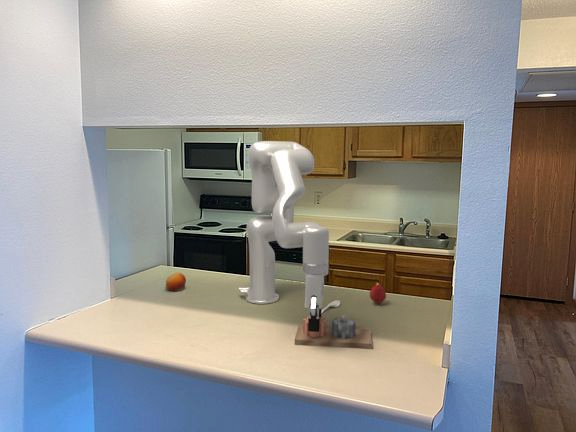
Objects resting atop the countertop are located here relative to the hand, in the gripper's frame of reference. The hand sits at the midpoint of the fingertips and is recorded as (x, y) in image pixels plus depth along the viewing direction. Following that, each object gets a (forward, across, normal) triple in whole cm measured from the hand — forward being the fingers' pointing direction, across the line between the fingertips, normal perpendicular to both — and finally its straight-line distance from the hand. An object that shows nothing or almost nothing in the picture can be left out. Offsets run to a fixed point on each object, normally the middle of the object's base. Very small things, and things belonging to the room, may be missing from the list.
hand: (314, 325), depth 135 cm
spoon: (+5, -24, +2) cm, 24 cm away
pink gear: (+2, 0, 0) cm, 2 cm away
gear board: (+4, 0, +6) cm, 7 cm away
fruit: (+4, -41, -60) cm, 72 cm away
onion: (+4, -34, +20) cm, 40 cm away
